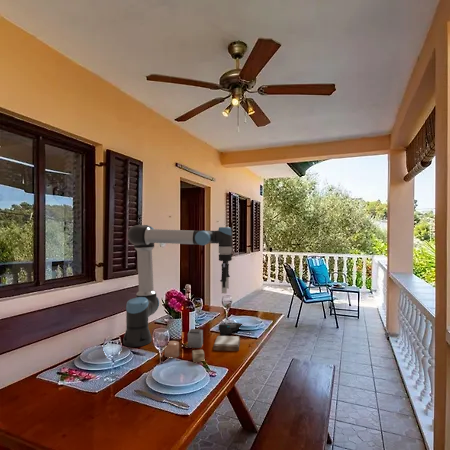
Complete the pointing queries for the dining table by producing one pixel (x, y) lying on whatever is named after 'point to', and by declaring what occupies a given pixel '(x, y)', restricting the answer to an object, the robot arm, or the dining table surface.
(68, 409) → the dining table surface
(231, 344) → the stand
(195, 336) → the housing
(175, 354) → the brown rounded block
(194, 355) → the beech block
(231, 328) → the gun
